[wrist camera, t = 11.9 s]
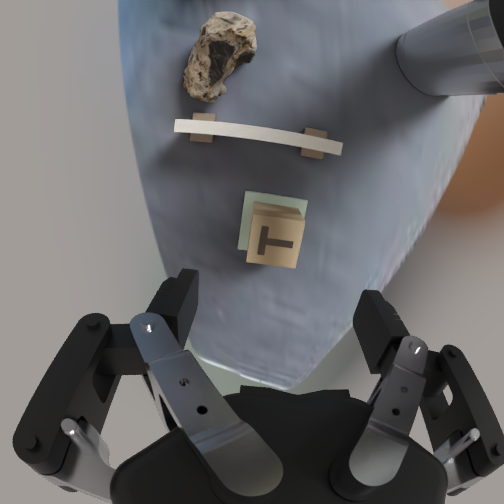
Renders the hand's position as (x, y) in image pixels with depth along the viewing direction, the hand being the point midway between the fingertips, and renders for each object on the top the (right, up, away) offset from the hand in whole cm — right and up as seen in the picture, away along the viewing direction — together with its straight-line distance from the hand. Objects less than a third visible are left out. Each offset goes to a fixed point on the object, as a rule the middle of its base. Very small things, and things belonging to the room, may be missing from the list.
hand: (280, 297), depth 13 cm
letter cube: (+1, +5, +18) cm, 19 cm away
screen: (-1, +15, +15) cm, 21 cm away
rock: (-5, +23, +12) cm, 26 cm away
